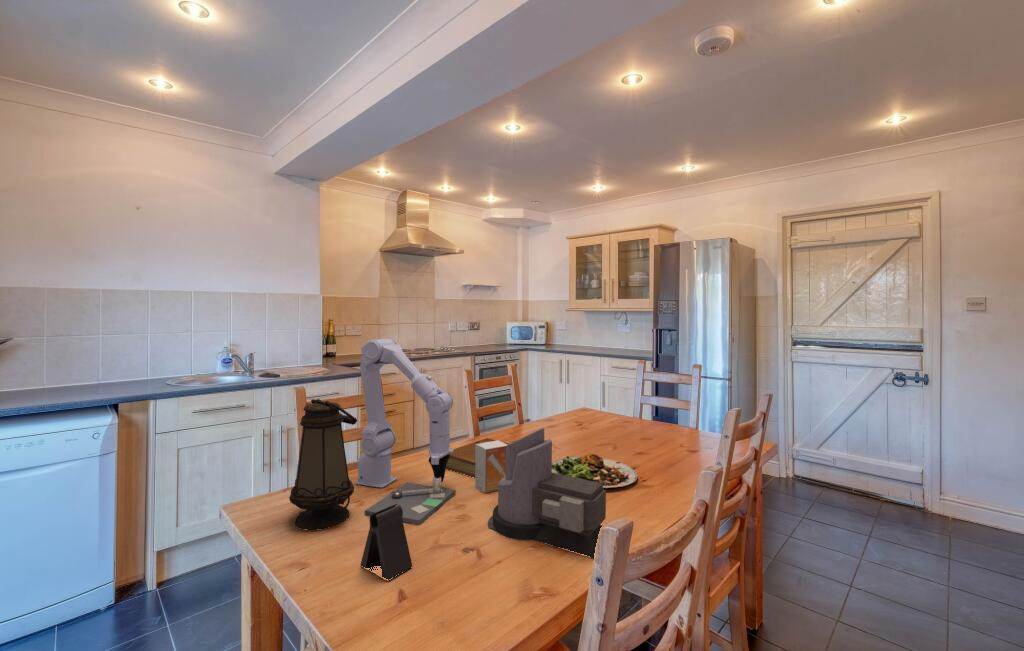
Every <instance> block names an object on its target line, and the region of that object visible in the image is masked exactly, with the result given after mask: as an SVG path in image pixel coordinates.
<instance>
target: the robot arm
mask: <svg viewBox="0 0 1024 651" xmlns="http://www.w3.org/2000/svg"><path fill="white" fill-rule="evenodd" d="M360 350H361V351H360V352H361V360H360V364H359V367H360V368H359V369H360V376H361V383H362V384H361V385H362V391H363V392H362V393H363V399H364V400H363V401H364V406H365V408H364V409H365V415H366V421H367V423H366V425H365V427H364V429H363V430H362V431H361V434H362V437H361V438H362V440H361V450H362V453H361V454H360V456H359V458H358V461H357V481H356V482H355V484H356V485H362V486H367V487H373V488H379V489H382V488H385V487H386V486H388V485H390V484H392V483H393V482H394V481H397V480H398V477H396V476H392V451H393V447H394V446H395V445H396V441H397V436H396V433H395V432H394V430H393V426H392V424H391V423H390V422H389V421H388V420H387V417H386V416H387V415H386V410H385V409H386V408H385V403H384V395H383V387H382V381H381V372H380V370H381V368H382V367H383V366H384V365H385V364H386V363H388V364H393V365H394V366H395V367H396V368H397V369H398V370H399V371H400V372H401V373H402V374H403V375H404V376H405V377H407V379H409V381H411V382H410V383H411V384H410V385H411V386H410V387H411V389H413V391H414V392H415V393H416V394H417V395H418V397H420V398H421V400H422V401H423V402H424V404H425V405H424V406H425V410H426V412H427V413H428V418H429V449H428V454H429V458H428V463H429V464H430V467H431V469H432V471H433V477H435V476H440V477H441V483H443V482H444V479H445V475H446V470H447V469H446V465H447V462H448V460H449V458H450V454H449V453H453V451H454V449H455V448H450V415H451V413H450V410H451V409H452V408H453V405H454V399H453V396H452V395H451V394H450V392H448V391H445V390H443V389H442V388H441V387H439V386H438V385H437V384H436V383H435V382H434V381H433V379H432V378H433V377H432V376H431V375H430V374H429V375H428V374H426V373H421V372H420V371H419V370H418V369H417V368H416V366H415V365H414V363H412V361H411V360H410V359H409V358H408V356H407V355H406V354H405V353H404V351H403V348H402V346H401V345H400V344H399V343H398V342H397V341H396V340H395V339H394V338H391V337H387V338H379V339H373V338H372V339H369V340H367V341H365V343H364V344H363V345H362V347H361V348H360Z"/></svg>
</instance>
